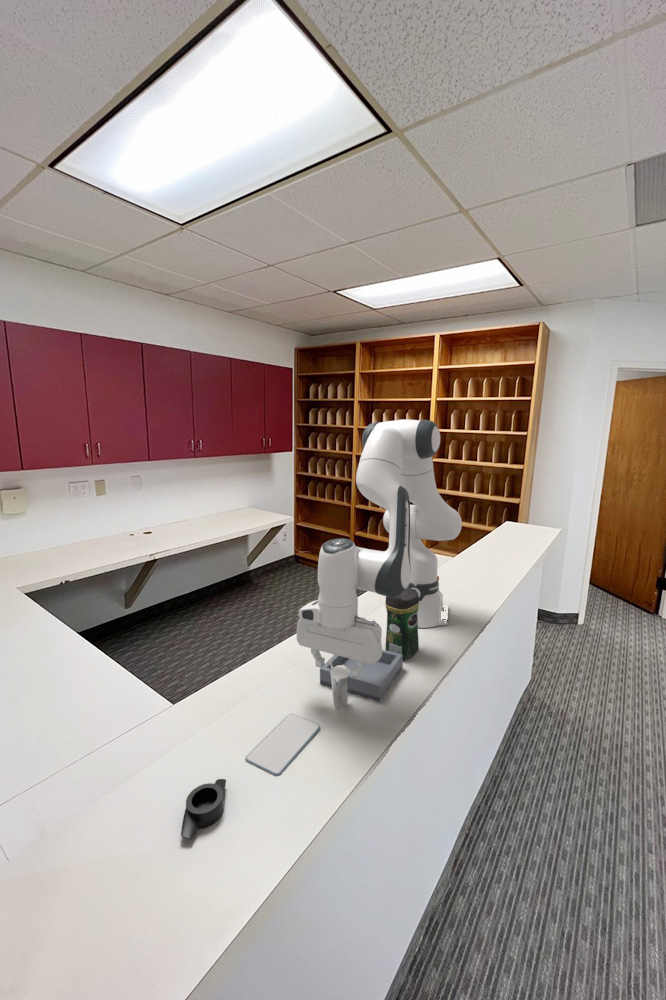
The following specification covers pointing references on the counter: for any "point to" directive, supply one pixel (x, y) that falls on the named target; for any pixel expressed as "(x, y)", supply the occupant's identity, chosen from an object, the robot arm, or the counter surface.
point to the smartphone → (283, 744)
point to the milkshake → (340, 685)
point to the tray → (367, 674)
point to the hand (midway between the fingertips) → (338, 671)
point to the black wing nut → (203, 807)
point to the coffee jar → (403, 623)
